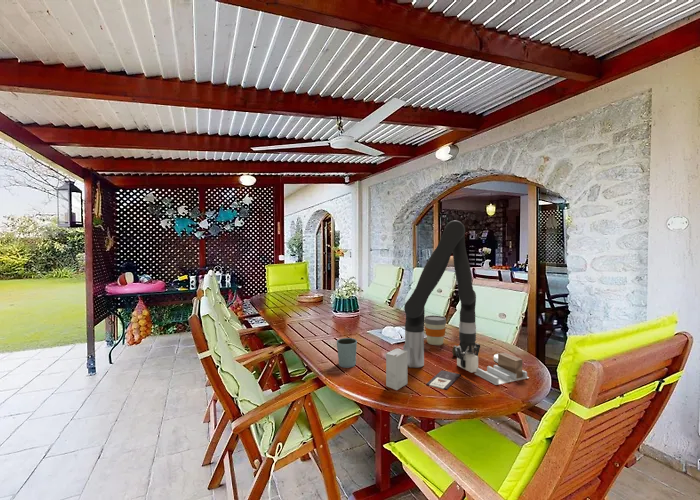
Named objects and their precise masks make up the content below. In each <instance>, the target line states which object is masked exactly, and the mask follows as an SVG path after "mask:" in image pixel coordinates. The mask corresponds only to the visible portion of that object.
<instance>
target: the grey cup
mask: <svg viewBox="0 0 700 500" xmlns="http://www.w3.org/2000/svg"><path fill="white" fill-rule="evenodd" d="M357 346H358V341H357V339H356V338H352V337H344V338H339V339H337V340H336V350H337V360H338V361H337V362H338V365H339V367H341V368H345V369H346V368H347V369H348V368H349V369H350V368H354V367H355V366H356V364H357V349H358V348H357Z"/></svg>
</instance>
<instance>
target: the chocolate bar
mask: <svg viewBox="0 0 700 500" xmlns="http://www.w3.org/2000/svg"><path fill="white" fill-rule="evenodd" d="M461 375H462V374H461V373H457V372H451V371H447V370H440V371H439V372H438V373H437V374H436V375H434V376H433V377H432V378H431V379H430V380H429V381H428V382H426V386H430V387H433V388H437V389H441V390H446V391H447V390H448V389H450V387H452V385H453V384H454V383H455V382H456V381H457V380H458V379H459V378H460V377H461Z"/></svg>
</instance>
